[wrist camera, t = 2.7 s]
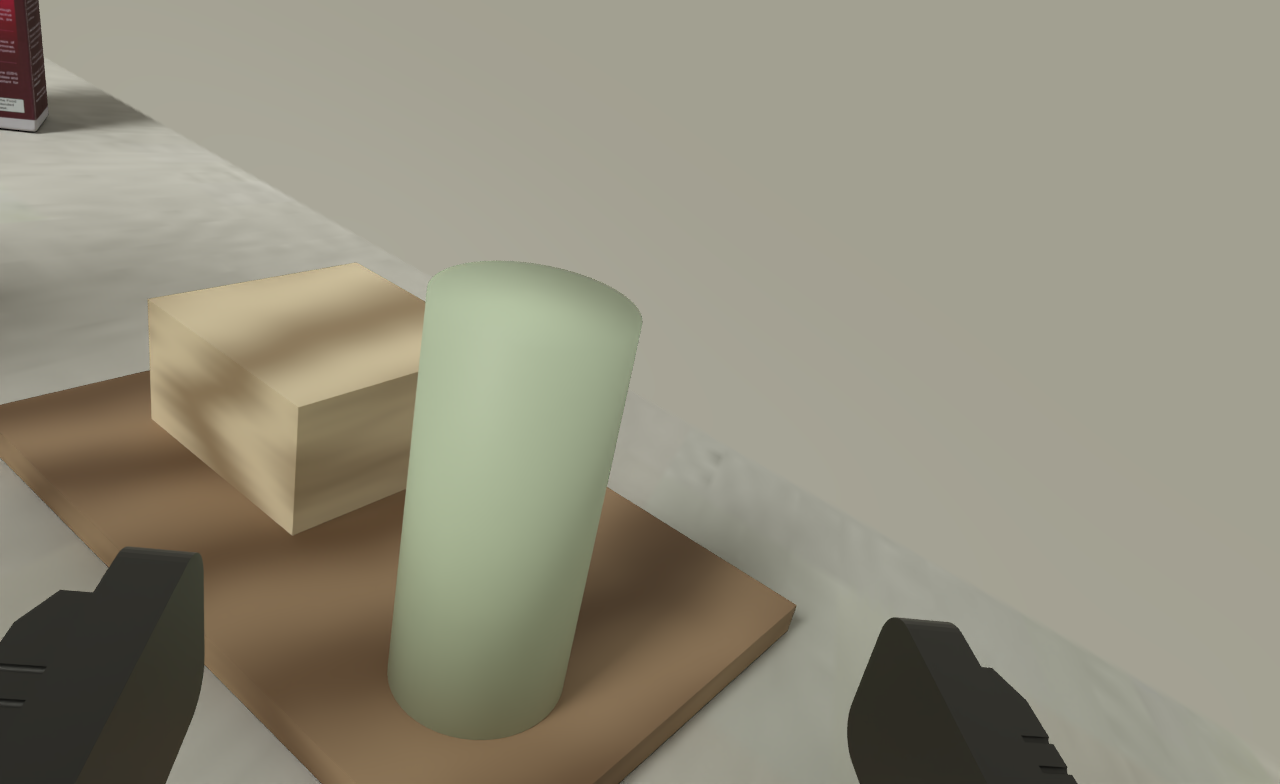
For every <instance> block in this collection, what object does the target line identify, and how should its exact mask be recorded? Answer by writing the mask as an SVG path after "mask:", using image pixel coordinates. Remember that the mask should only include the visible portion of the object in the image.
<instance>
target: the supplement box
mask: <svg viewBox="0 0 1280 784" xmlns="http://www.w3.org/2000/svg"><path fill="white" fill-rule="evenodd" d="M39 13H40V12H39V1H38V0H0V128H5V129H15V130H24V131H37V129H38V128H39V127H40V125H41V124H42V123H43V121H44V120H45V119H46V117H47V116H48V103H47V91H46V80H45V68H44V57H43V46H42V34H41V23H40V14H39Z"/></svg>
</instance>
